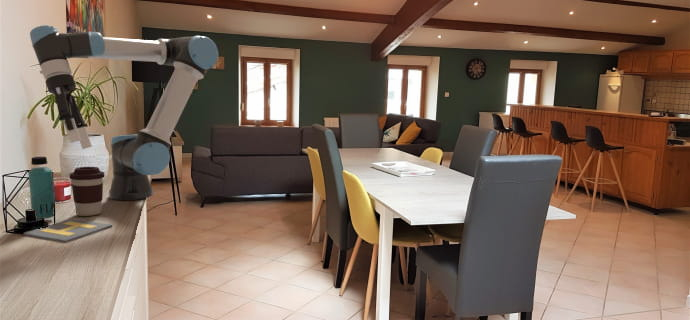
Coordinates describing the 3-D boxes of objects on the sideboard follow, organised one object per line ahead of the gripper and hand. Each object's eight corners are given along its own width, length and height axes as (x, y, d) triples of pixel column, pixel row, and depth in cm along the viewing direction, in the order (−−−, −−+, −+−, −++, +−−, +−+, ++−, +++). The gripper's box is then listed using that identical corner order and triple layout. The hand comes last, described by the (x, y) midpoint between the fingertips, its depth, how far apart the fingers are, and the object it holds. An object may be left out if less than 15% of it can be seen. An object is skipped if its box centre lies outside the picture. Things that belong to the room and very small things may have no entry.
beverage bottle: (38, 225, 150) (33, 159, 146) (27, 221, 153) (21, 157, 150) (60, 220, 155) (56, 156, 152) (49, 216, 159) (44, 154, 155)
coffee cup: (91, 218, 157) (89, 171, 155) (64, 216, 159) (61, 169, 157) (112, 211, 166) (110, 166, 164) (86, 209, 168) (84, 165, 166)
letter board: (72, 220, 155) (72, 218, 155) (112, 226, 150) (112, 224, 150) (23, 234, 141) (23, 232, 141) (65, 242, 135) (65, 240, 135)
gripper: (57, 91, 160) (79, 153, 160) (30, 69, 136) (55, 142, 136) (82, 84, 162) (103, 146, 162) (59, 61, 138) (84, 134, 138)
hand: (81, 144), depth 149 cm, fingers open, 13 cm apart
